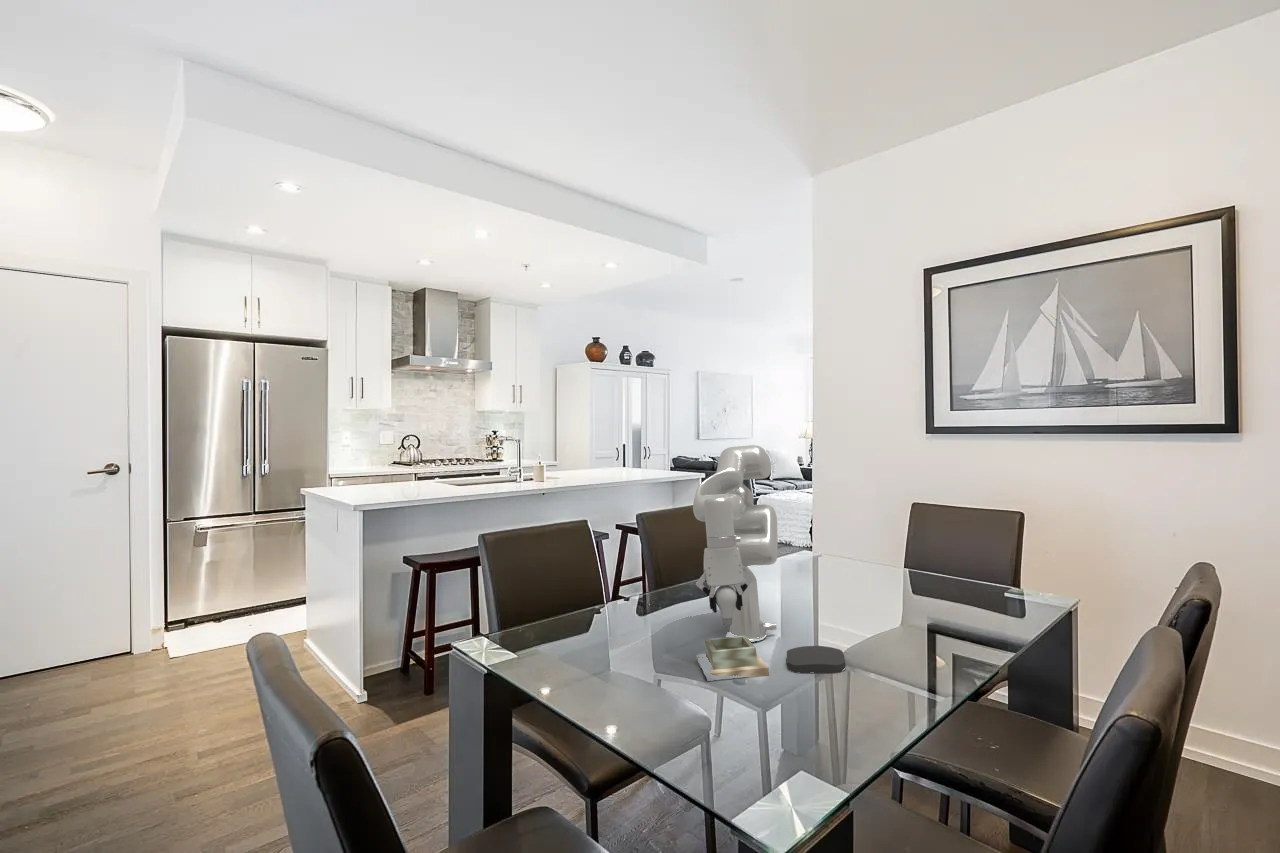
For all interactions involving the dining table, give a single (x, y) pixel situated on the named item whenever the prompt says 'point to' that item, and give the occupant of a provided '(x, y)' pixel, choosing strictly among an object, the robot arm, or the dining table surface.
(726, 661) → the base
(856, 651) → the dining table surface
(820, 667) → the media streaming box
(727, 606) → the lightbulb
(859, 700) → the dining table surface
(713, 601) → the robot arm
